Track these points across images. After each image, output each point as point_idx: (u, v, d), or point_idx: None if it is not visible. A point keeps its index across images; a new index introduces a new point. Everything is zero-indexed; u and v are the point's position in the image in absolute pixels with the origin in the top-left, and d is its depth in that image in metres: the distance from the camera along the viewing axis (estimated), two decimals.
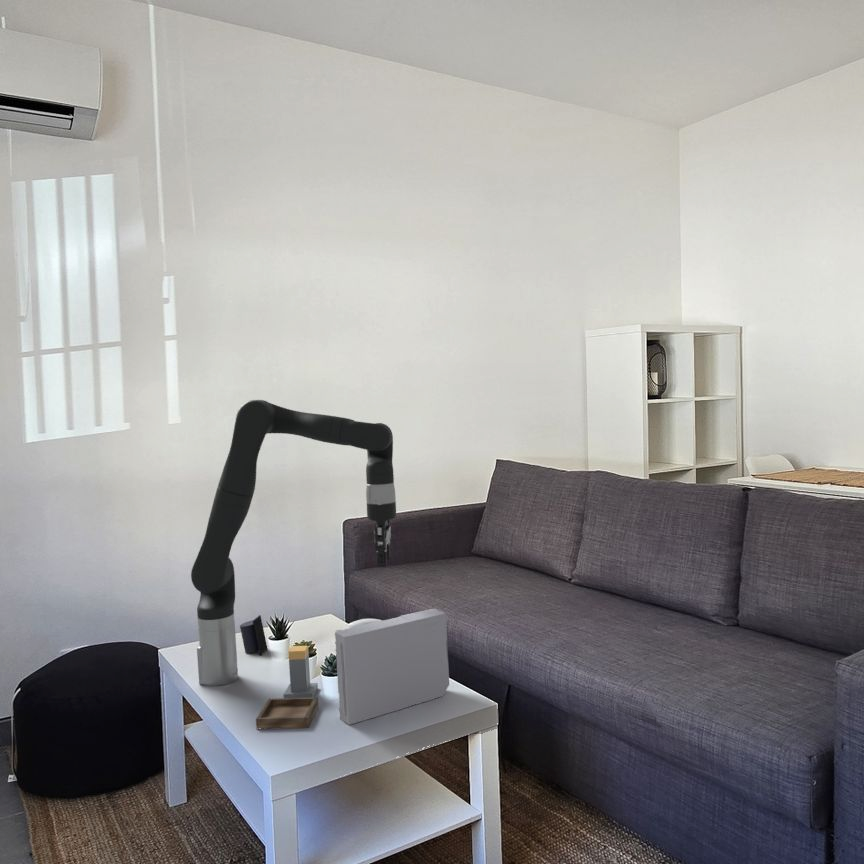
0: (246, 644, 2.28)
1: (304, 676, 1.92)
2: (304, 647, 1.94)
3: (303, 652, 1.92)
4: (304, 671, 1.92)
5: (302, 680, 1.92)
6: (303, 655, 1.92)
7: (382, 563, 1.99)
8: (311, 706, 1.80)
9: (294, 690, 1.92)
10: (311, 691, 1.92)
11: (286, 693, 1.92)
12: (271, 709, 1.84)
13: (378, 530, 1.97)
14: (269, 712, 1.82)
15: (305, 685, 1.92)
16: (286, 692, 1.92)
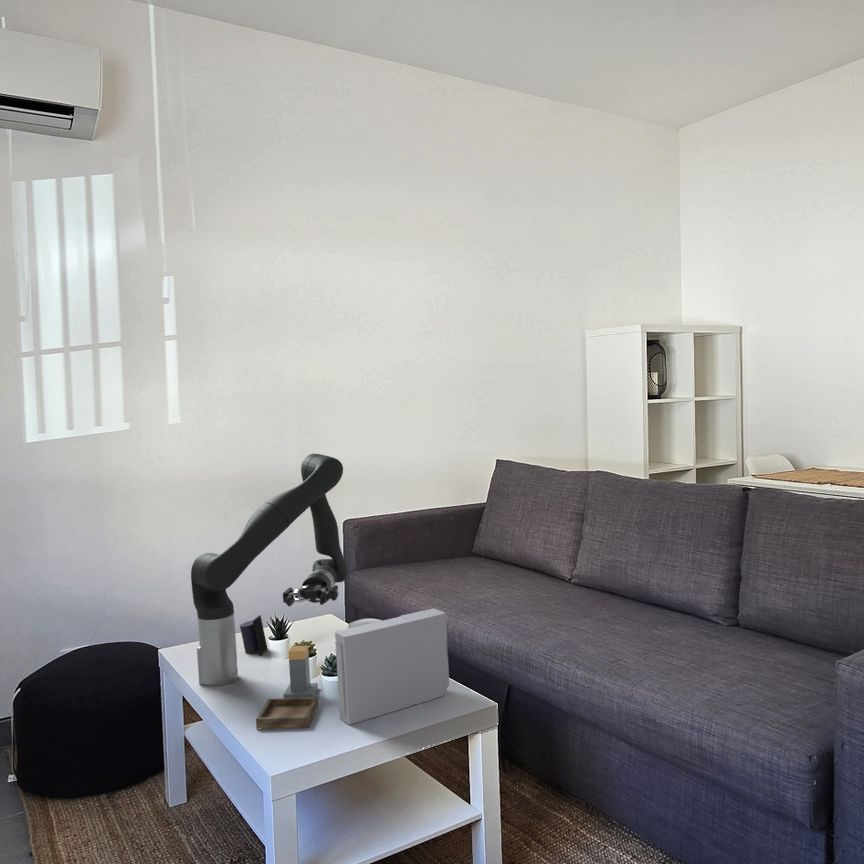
0: (246, 644, 2.28)
1: (304, 676, 1.92)
2: (304, 647, 1.94)
3: (303, 652, 1.92)
4: (304, 671, 1.92)
5: (302, 680, 1.92)
6: (303, 655, 1.92)
7: (325, 600, 2.05)
8: (311, 706, 1.80)
9: (294, 690, 1.92)
10: (311, 691, 1.92)
11: (286, 693, 1.92)
12: (271, 709, 1.84)
13: None
14: (269, 712, 1.82)
15: (305, 685, 1.92)
16: (286, 692, 1.92)
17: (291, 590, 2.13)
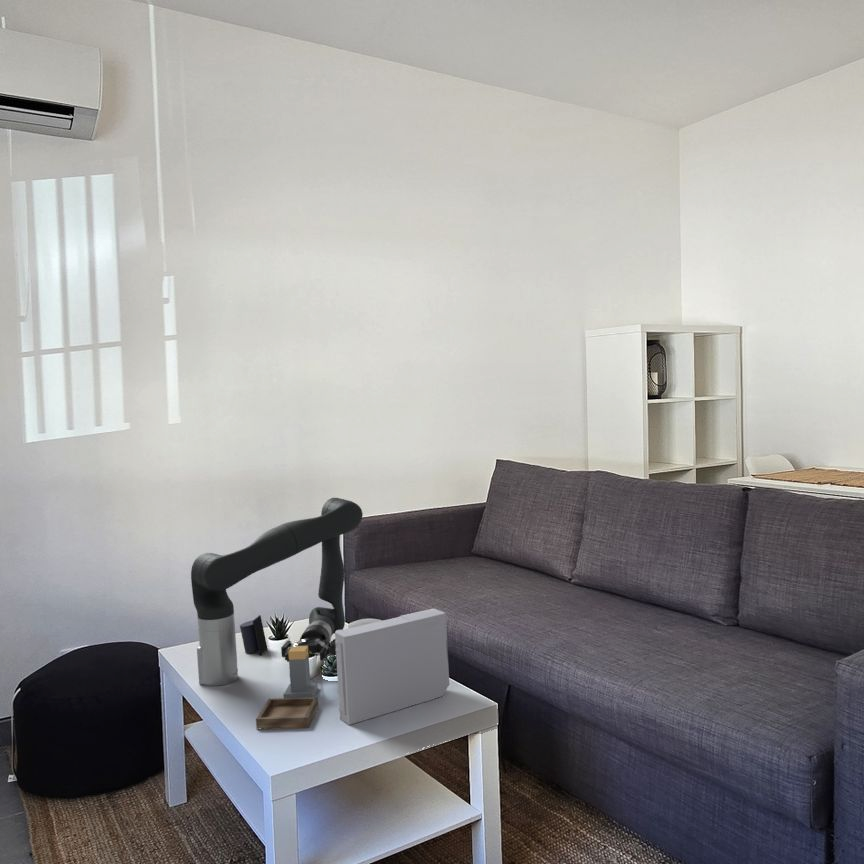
0: (246, 644, 2.28)
1: (304, 676, 1.92)
2: (304, 647, 1.94)
3: (303, 652, 1.92)
4: (304, 671, 1.92)
5: (302, 680, 1.92)
6: (303, 655, 1.92)
7: (325, 656, 2.01)
8: (311, 706, 1.80)
9: (294, 690, 1.92)
10: (311, 691, 1.92)
11: (286, 693, 1.92)
12: (271, 709, 1.84)
13: None
14: (269, 712, 1.82)
15: (305, 685, 1.92)
16: (286, 692, 1.92)
17: (289, 644, 2.09)
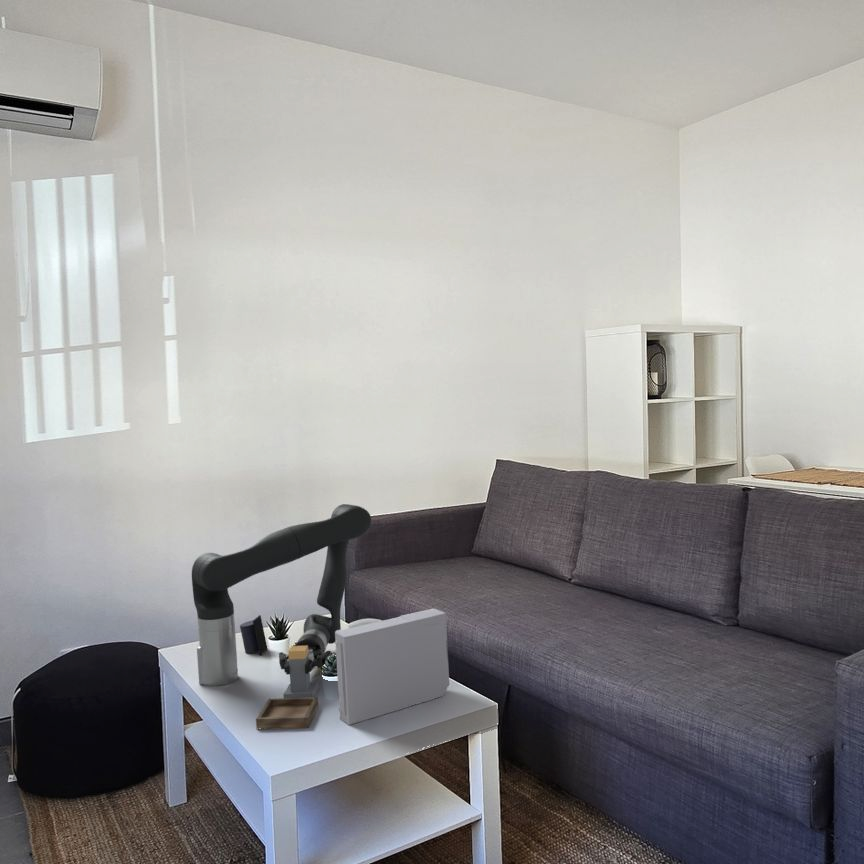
0: (246, 644, 2.28)
1: (304, 676, 1.92)
2: (304, 647, 1.94)
3: (303, 652, 1.92)
4: (304, 671, 1.92)
5: (302, 679, 1.92)
6: (303, 655, 1.92)
7: (311, 668, 1.92)
8: (311, 706, 1.80)
9: (294, 690, 1.92)
10: (311, 691, 1.92)
11: (286, 693, 1.92)
12: (271, 709, 1.84)
13: (330, 655, 2.00)
14: (269, 712, 1.82)
15: (305, 685, 1.92)
16: (286, 691, 1.92)
17: (284, 655, 2.00)
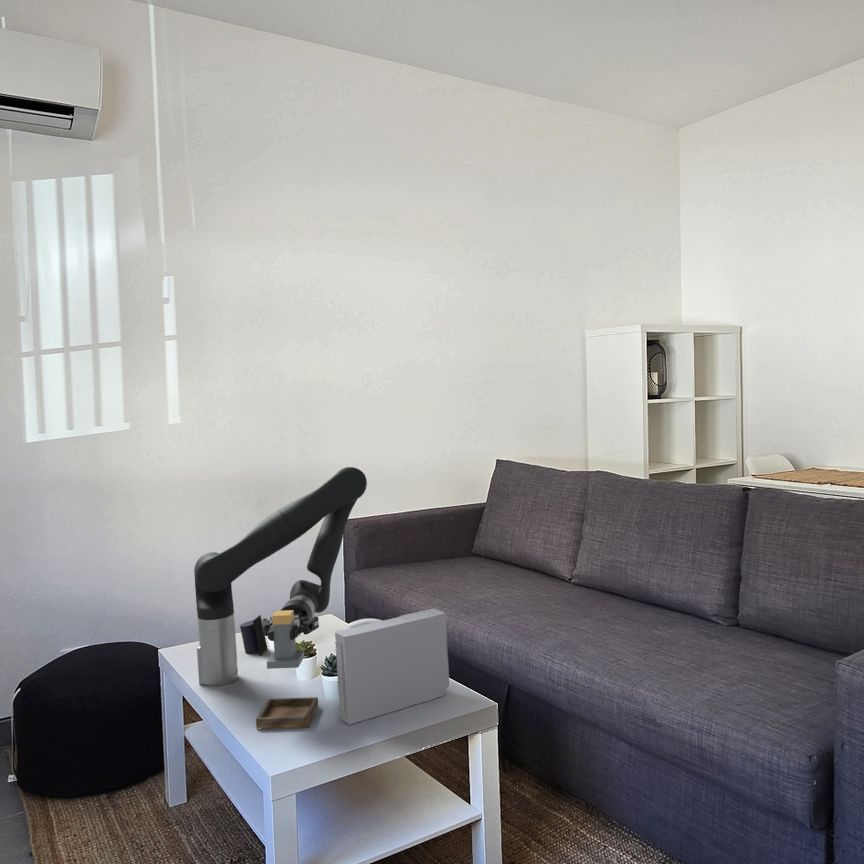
0: (246, 644, 2.28)
1: (289, 642, 1.78)
2: (289, 611, 1.80)
3: (288, 616, 1.77)
4: (289, 637, 1.78)
5: (287, 646, 1.78)
6: (288, 620, 1.77)
7: (296, 635, 1.78)
8: (311, 706, 1.80)
9: (278, 658, 1.78)
10: (297, 658, 1.78)
11: (270, 661, 1.77)
12: (271, 709, 1.84)
13: (317, 621, 1.86)
14: (269, 712, 1.82)
15: (290, 652, 1.78)
16: (269, 659, 1.78)
17: (268, 621, 1.86)
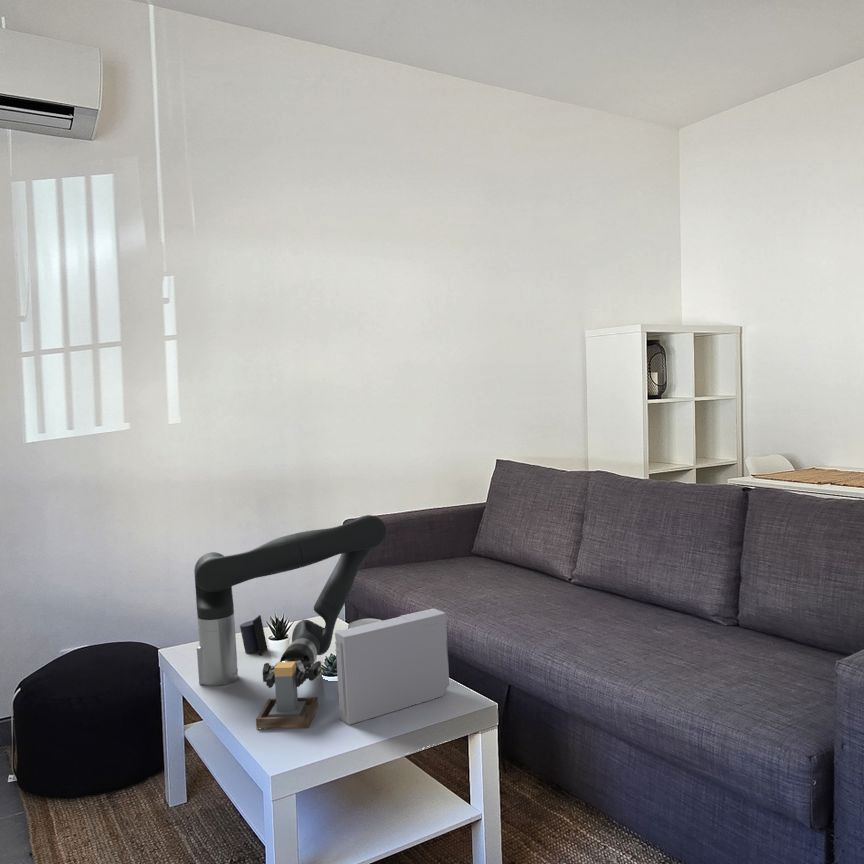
0: (246, 644, 2.28)
1: (291, 694, 1.78)
2: (291, 663, 1.81)
3: (290, 669, 1.78)
4: (291, 689, 1.78)
5: (289, 698, 1.78)
6: (290, 672, 1.78)
7: (302, 681, 1.78)
8: (311, 706, 1.80)
9: (280, 710, 1.78)
10: (299, 711, 1.78)
11: (272, 713, 1.78)
12: (271, 709, 1.84)
13: (320, 666, 1.87)
14: (269, 712, 1.82)
15: (292, 704, 1.78)
16: (271, 711, 1.79)
17: (269, 666, 1.86)
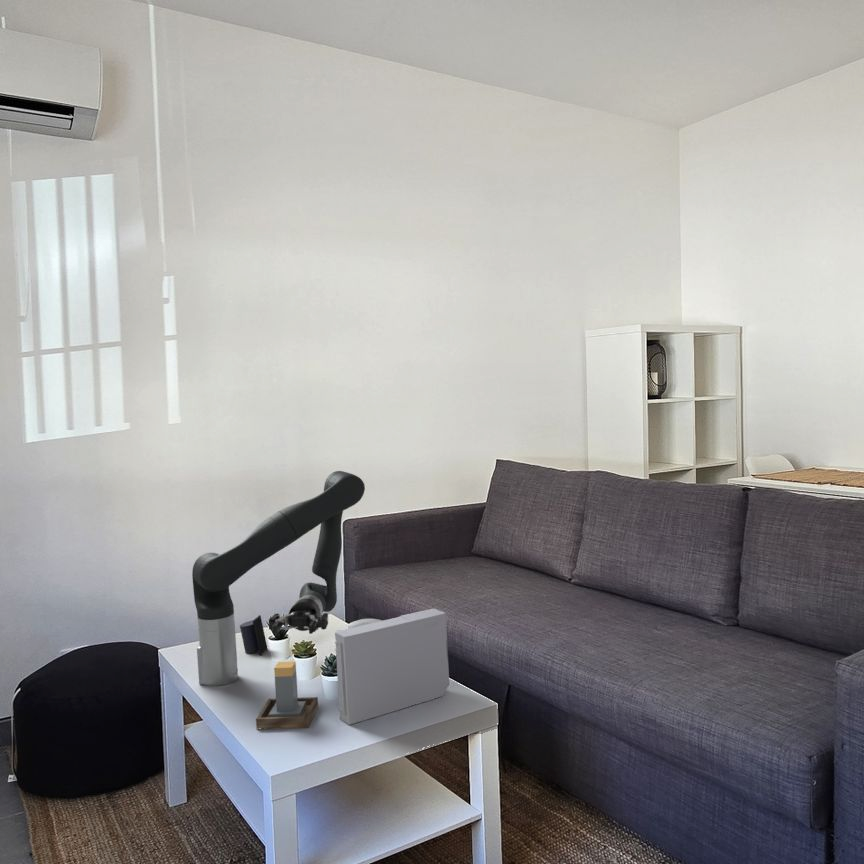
0: (246, 644, 2.28)
1: (291, 694, 1.78)
2: (291, 663, 1.81)
3: (290, 669, 1.78)
4: (291, 689, 1.78)
5: (289, 698, 1.78)
6: (290, 672, 1.78)
7: (315, 629, 1.91)
8: (311, 706, 1.80)
9: (280, 710, 1.78)
10: (299, 711, 1.78)
11: (272, 713, 1.78)
12: (271, 709, 1.84)
13: None
14: (269, 712, 1.82)
15: (292, 704, 1.78)
16: (271, 711, 1.79)
17: (278, 616, 1.99)
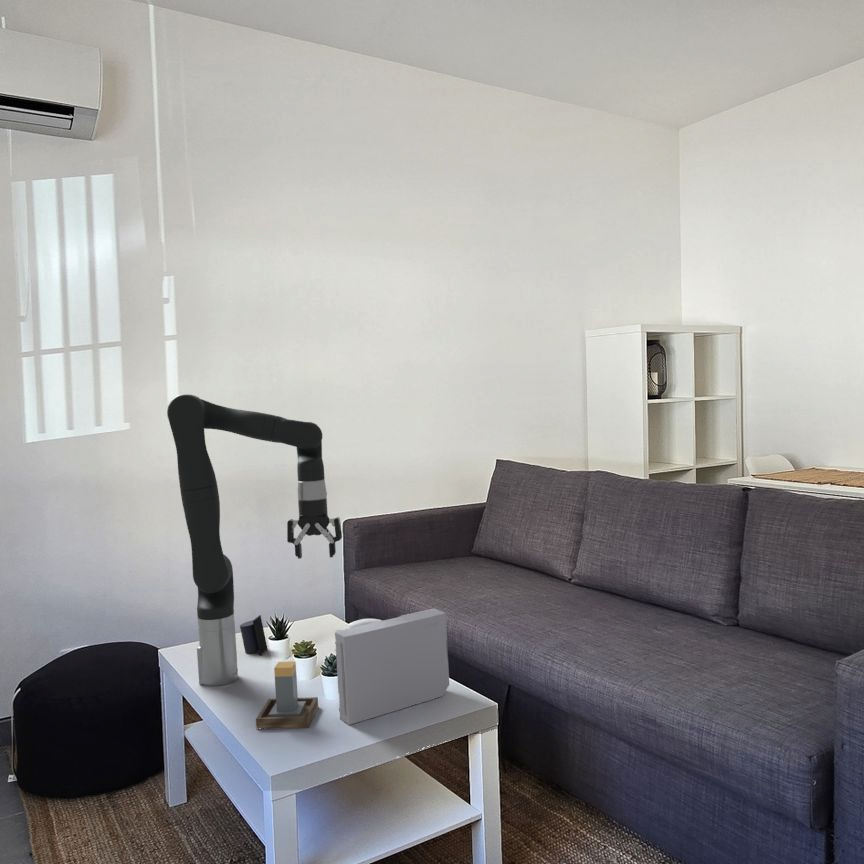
0: (246, 644, 2.28)
1: (291, 694, 1.78)
2: (291, 663, 1.81)
3: (290, 669, 1.78)
4: (291, 689, 1.78)
5: (289, 698, 1.78)
6: (290, 672, 1.78)
7: (335, 552, 2.11)
8: (311, 706, 1.80)
9: (280, 710, 1.78)
10: (299, 711, 1.78)
11: (272, 713, 1.78)
12: (271, 709, 1.84)
13: (339, 520, 2.10)
14: (269, 712, 1.82)
15: (292, 704, 1.78)
16: (271, 711, 1.79)
17: (292, 527, 2.10)
